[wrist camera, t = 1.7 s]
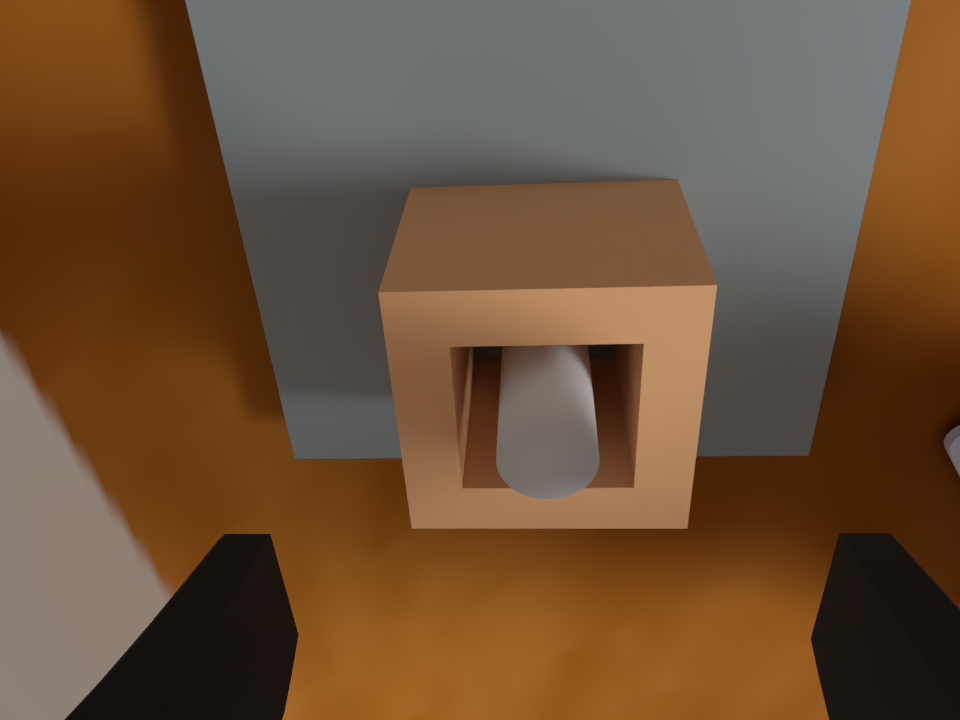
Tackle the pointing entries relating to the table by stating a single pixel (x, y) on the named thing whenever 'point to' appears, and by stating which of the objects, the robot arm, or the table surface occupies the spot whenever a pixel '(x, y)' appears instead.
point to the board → (549, 159)
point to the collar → (548, 321)
